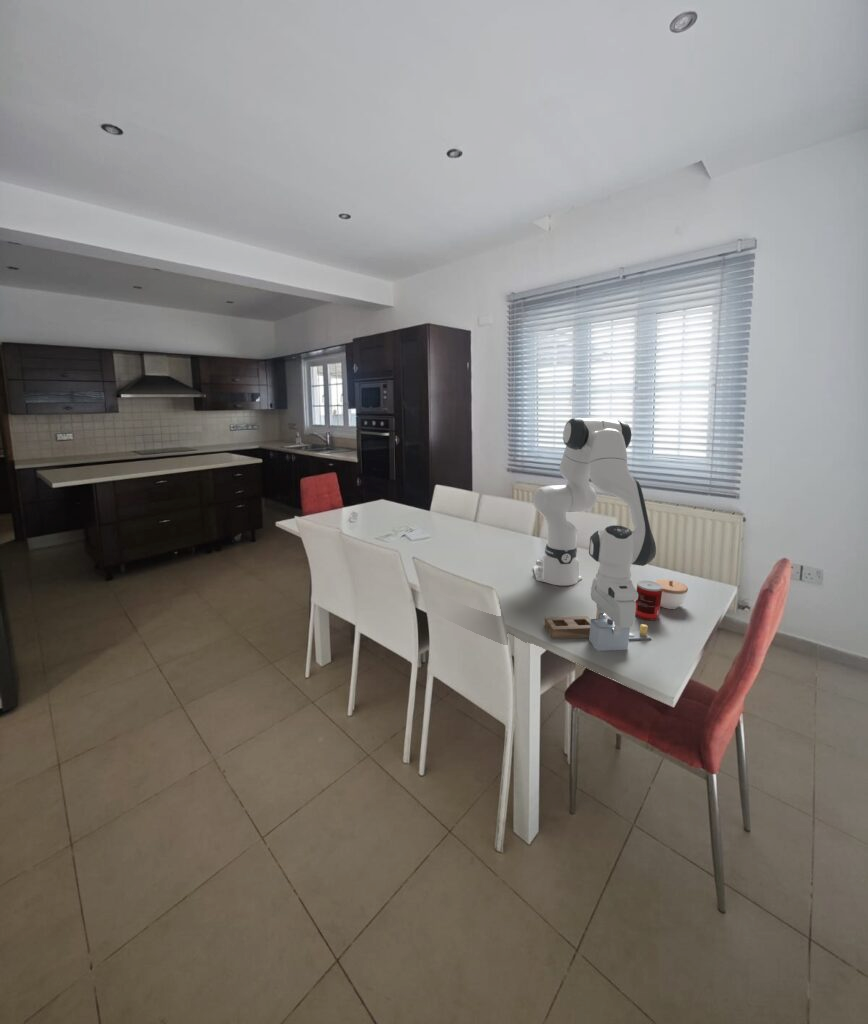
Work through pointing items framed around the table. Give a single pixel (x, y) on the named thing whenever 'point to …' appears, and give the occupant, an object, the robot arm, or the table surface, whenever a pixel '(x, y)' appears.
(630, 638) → the plate
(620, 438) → the robot arm
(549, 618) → the socket board
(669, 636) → the table surface
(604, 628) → the cover
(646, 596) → the canned food
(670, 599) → the lidded jar
